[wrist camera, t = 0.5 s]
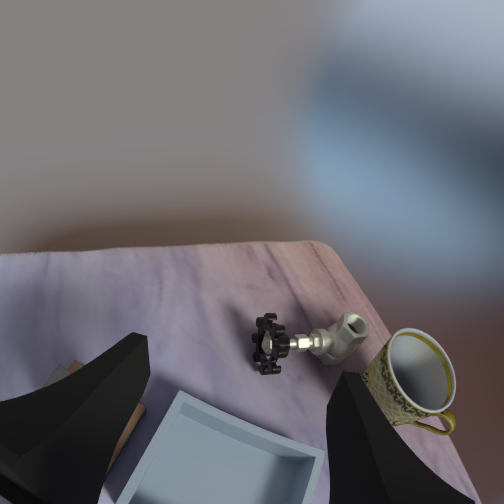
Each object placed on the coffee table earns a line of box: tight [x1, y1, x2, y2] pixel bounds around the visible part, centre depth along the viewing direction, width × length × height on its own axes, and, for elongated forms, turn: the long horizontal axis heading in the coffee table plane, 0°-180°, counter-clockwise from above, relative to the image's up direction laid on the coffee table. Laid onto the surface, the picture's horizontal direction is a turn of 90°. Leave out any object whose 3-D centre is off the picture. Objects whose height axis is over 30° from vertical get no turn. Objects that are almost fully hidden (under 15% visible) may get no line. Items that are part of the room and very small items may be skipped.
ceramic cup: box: [361, 328, 456, 435], centre depth 28 cm, size 13×10×10 cm
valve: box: [252, 312, 369, 375], centre depth 33 cm, size 7×7×12 cm
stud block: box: [67, 361, 146, 480], centre depth 20 cm, size 10×8×4 cm
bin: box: [116, 390, 326, 504], centre depth 20 cm, size 12×14×4 cm
